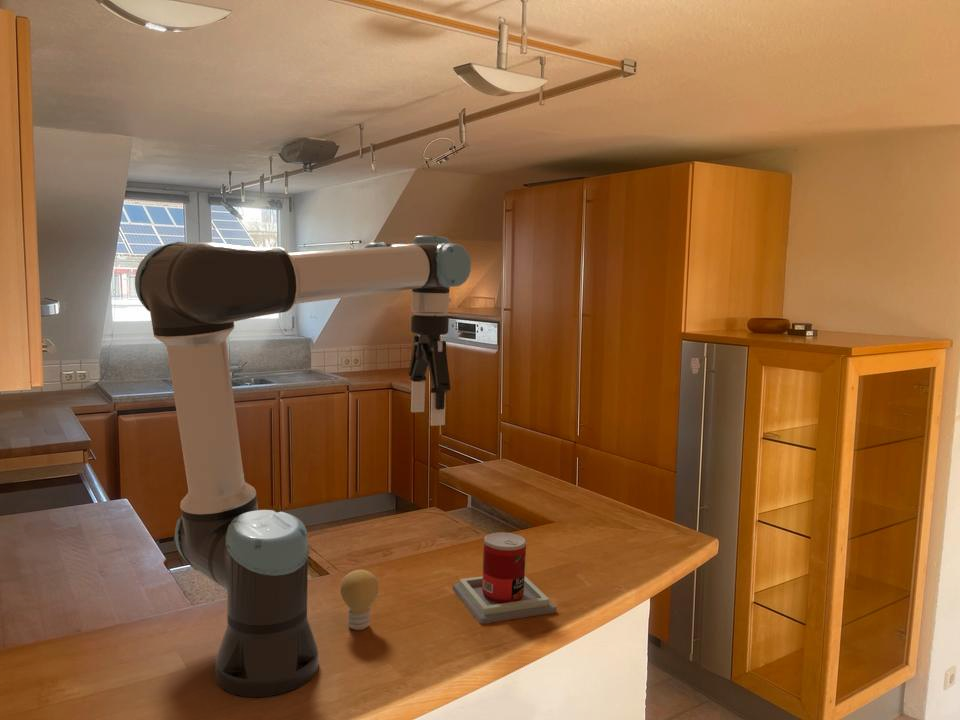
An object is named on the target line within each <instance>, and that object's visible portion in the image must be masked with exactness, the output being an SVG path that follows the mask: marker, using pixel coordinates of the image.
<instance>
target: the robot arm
mask: <svg viewBox="0 0 960 720" xmlns="http://www.w3.org/2000/svg"><path fill="white" fill-rule="evenodd" d="M471 262H472V261H471V256H470V254H469V251H468V250H467V249H466V248H465V247H464V246H463V245H461V244H458V243H451V240H450V239H449V237H446V236H439V235H437V236H436V235H415V236H414V238H413V241H412V243H391V242H389V243H388V242H385V241H383V242H382V241H381V242H370V243H367V244H366V245H365V246H364V247H362V248H361V247H360V248H359V247H358V248H346V249H345V248H344V249H332V250H329V249H328V250H318V251H317V250H315V251H314V250H313V251H299V252H298V251H297V252H288V251H287V250H286V249H284V248H283V247H281V246H248V245H247V246H246V245H239V244H230V243H222V242H221V243H220V242H214V241H213V242H210V241H206V242H190V241H187V242H186V241H176V242H170V243H167V244H163V245H160V246H157V247H155V248H154V249H152V250H151V251H149V252H148V253H146V255H145V256H144V258H142V260H141V261H140V263H139V265H138V267H137V269H136V271H135V274H134V275H135V277H134V287H135V293H136V295H137V298H138V300H139V302H140V303H141V305H142V306H143V307H144V308H145V310H147V311H148V312H149V313H150V314H149V315H150V320H151V326H152V332H153V337H154V338H156V339H157V340H158V341H160V342H161V343H162V344H163V345H164V346H166V350H167V359H168V364H169V370H170V377H171V378H170V379H171V384H172V391H173V397H174V404H175V410H176V417H177V423H178V429H179V430H178V431H179V436H180V443H181V450H182V456H183V463H184V470H185V476H186V477H185V478H186V482H187V488H188V492H187V493H186V495H185V496H184V497H183V498H182V499H181V501H180V506H179V507H180V512H181V513H180V514H181V515H180V518H178V519H177V521H176V525H175V531H174V541H175V545H176V548H177V550H178V552H179V554H180V556H181V557H182V558H183V560H184V561H186V563H187V564H188V565H189V566H190V567H191V568H193V569H194V570H195V571H198V572H200V573H201V574H203V575H204V576H205V577H206V578H208V579H211V580H212V581H214V582H215V583H216V584H217V585H219V586H221V587H222V588H224V589H225V591H226V594H227V595H226V599H227V601H226V602H227V603H226V604H227V606H226V609H227V614H226V616H227V624H226V629H225V631H224V634H223V637H222V640H221V642H220V646H219V648H218V652H217V655H216V657H215V661H214V662H215V663H214V664H215V666H214V673H215V675H214V676H215V681H216V683H217V684H218V686H219V687H220V688H221V689H222V690H224V691H226V692H228V693H229V694H233V695H236V696H241V697H248V698H249V697H251V698H264V697H270V696H271V697H272V696H276V695H280V694H285V693H288V692H291V691H293V690H296V689H297V688H300V687H301V686H303V685H304V684H306V683H308V681H310V680H311V679H312V678H313V677H314V675H315V674H316V672H317V671H318V668H319V648H318V645H317V641H316V639H315V637H314V633H313V630H312V628H311V625H310V621H309V619H308V579H309V578H308V575H309V574H308V569H309V566H308V565H309V564H308V563H309V561H308V559H309V554H310V546H309V542H308V541H309V540H308V531H307V528H306V526H305V524H304V523H303V522H302V520H301V519H299V518H298V517H296V516H295V515H293V514H291V513H288V512H286V511H275V510H274V509H273V510H272V509H259V506H258V504H259V503H258V499H257V498H258V497H257V491H256V489H255V487H254V486H252V484H249V483H248V482H246V481H245V475H244V468H243V460H242V459H243V458H242V453H241V452H242V451H241V445H240V437H239V429H238V422H237V413H236V406H235V405H236V404H235V399H234V398H235V397H234V393H233V391H234V390H233V384H232V375H231V369H230V367H231V366H230V363H229V362H230V361H229V353H228V346H227V338H228V337H229V336H230V334H231V333H232V332H233V330H234V329H235V322H238V321H243V320H244V321H245V320H249V319H252V318H253V319H254V318H258V317H263V316H268V315H269V316H270V315H274V314H282V313H286V312H289V311H291V310H292V309H293V308H294V306H295V305H297V304H304V303H313V302H314V303H315V302H319V301H330V300H338V299H344V298H345V299H346V298H353V297H360V296H369V295H376V294H384V293H390V292H400V291H408V290H409V291H410V290H411V301H410V302H411V303H410V304H411V308H410V309H411V312H412V313H413V314H412V315H411V317H410V331H411V333H412V334H415V335H414V336H413V347H412V352H411V358H410V362H409V370H408V376H409V377H410V380H411V393H410V394H411V397H410V398H411V403H410V412H411V413H424V412H425V402H426V401H425V397H426V396H425V395H426V393H425V392H426V381H427V377H426V372H427V369H428V370H429V375H430V381H431V385H432V387H431V389H430V391H429V393H431V396H430V397H431V398H430V422H429V423H430V425H429V426H431V427H433V426H435V427H436V426H445V425H446V397H447V396H446V393H448V392H449V391H451V381H450V380H451V379H450V373H449V372H450V371H449V366H448V365H449V364H448V357H447V342H446V341H445V340H441V338H440V337H441V335H442V336H443V335H448V333H449V326H450V325H449V319H450V318H449V316H448V315H446V314H448V313H449V312H450V303H451V302H452V297H451V298H450V287H453V288H454V287H460V286H462V285H463V284H464V283H465V282H466V281H468V278H469V277H470V274H471V271H472V263H471Z"/></svg>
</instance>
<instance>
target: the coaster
mask: <svg viewBox="0 0 960 720" xmlns="http://www.w3.org/2000/svg"><path fill="white" fill-rule="evenodd" d="M458 581H459V582H456V583H452V590H453V591H454V593H455V594H456V595H457V597H459V599H460V600H461V601H462V603H463V604H464V606H466V607H467V609H468V611H469V612H471V614H472V615H473V616H474V618H475V619H476V620H477V621H478V623H479V624H480V625H485V624H490V623H496V622H503V621H508V620H516V619H521V618H527V617H535V616H542V615H547V613H548V614H553V613H554V612H555V613H557V606H556V605H555V604H554V603H553V602H552V601H551V599H550V598H549V597H548V596H547V595H545V593H544V592H542V590H541V589H539V588H538V587H537V586H536V584H534V583H533V582H532V581H531V580H530V579H529V578H528V577H527V576H525V578H524V593H523V596H522V598H521V599H520V600H519V601H516V602H509V603H497V602H493V601H490V600H488V599H487V598H486V597H485V596H484V595H483V591H482V581H483V575H481V576H476V577H475V576H474V577H466V578H460V579H459V580H458ZM555 613H554V614H555Z"/></svg>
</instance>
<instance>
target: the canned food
mask: <svg viewBox="0 0 960 720" xmlns="http://www.w3.org/2000/svg"><path fill="white" fill-rule="evenodd" d="M526 542H527V540H526V539H525V537H523V536H521V535H520V534H519V535H518V534H516V533H513V532H505V531H504V532H503V531H502V532H500V531H498V532H492V533H489V534H486V535H485V536H484V539H483V554H482V555H483V556H482V557H483V558H482V576H483V581H482V591H483V595H484V596H485V597H486V598H487V599H488V600H490V601H493V602H497V603H509V602H516V601H519V600H520V599H521V598H522V596H523V593H524V578H525V577H526V576H525V574H526V557H527V555H526V553H527V543H526Z"/></svg>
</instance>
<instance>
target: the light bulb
mask: <svg viewBox="0 0 960 720" xmlns="http://www.w3.org/2000/svg"><path fill="white" fill-rule="evenodd" d="M378 593H379V582H378V579H377V577H376V576H375V575H374V574H373V573H372V572H370V571H368V570H365V569H356V570H352V571H350V572H348V574H347V573H346V575H345V576H344V577H343V579H342V581H341V584H340V595H341V598H342V601H343V602H344V604H345V605H347V607H348V609H347V614H348V615H347V625H348V627H350V629H352V630H354V631H361V630H362V631H363V630H366V628H367V627H369V626H370V623H371V620H370V618H371V614H370V613H371V608H370V606H372V604H373V603H374V602H375V600H376V598H377V597H378Z"/></svg>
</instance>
